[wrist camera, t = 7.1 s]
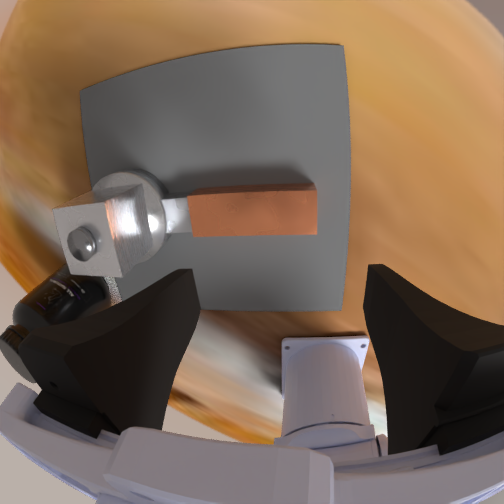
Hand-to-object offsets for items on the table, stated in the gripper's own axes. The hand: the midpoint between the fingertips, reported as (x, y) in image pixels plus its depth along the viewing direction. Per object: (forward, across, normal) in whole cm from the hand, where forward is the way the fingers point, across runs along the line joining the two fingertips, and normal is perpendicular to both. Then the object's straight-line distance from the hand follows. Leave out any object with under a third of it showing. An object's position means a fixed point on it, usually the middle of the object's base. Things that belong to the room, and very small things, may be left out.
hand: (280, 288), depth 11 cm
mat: (+9, +5, -2) cm, 11 cm away
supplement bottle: (+10, +20, +6) cm, 23 cm away
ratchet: (+9, +6, -1) cm, 11 cm away
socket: (+7, +12, -1) cm, 14 cm away
